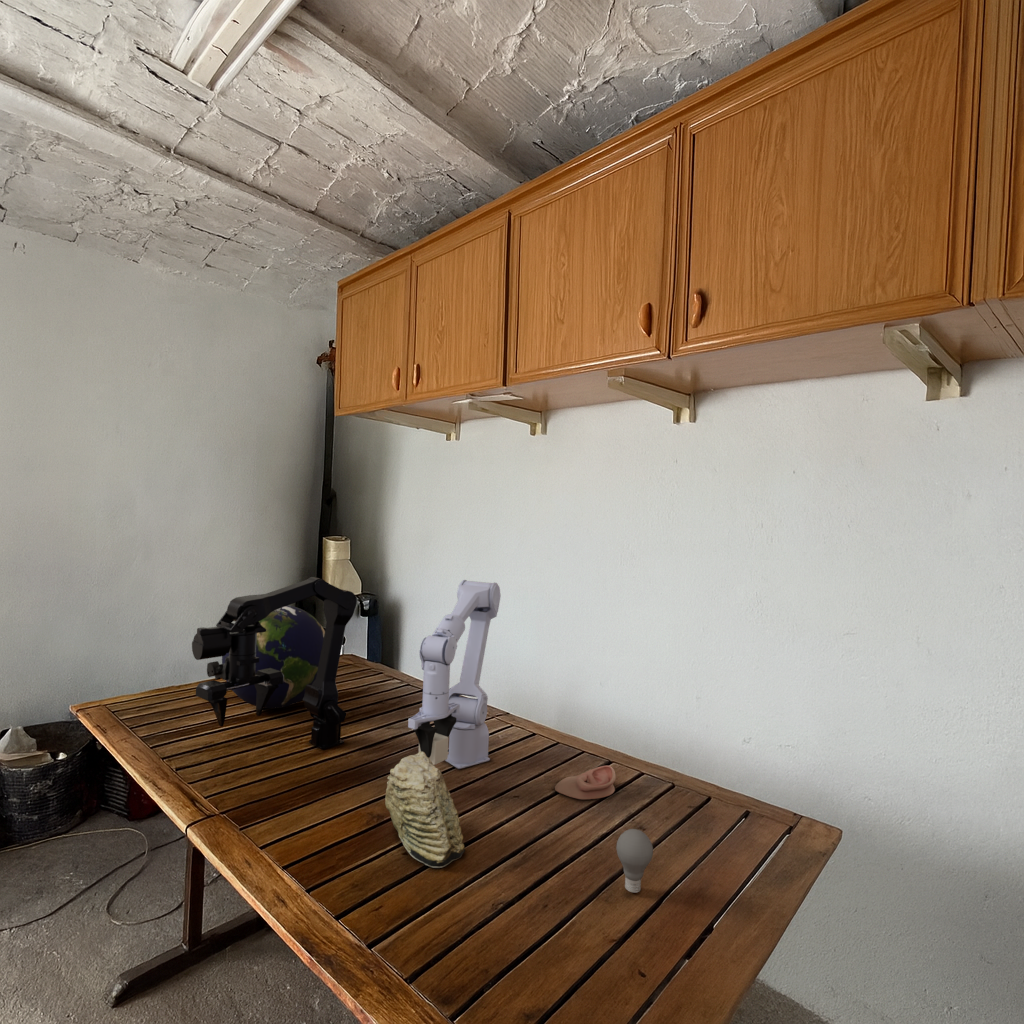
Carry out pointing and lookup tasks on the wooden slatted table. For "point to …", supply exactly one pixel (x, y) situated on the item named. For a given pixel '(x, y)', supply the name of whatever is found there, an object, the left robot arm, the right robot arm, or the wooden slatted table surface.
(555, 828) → the wooden slatted table surface
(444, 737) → the beige cube
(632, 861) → the light bulb
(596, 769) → the anatomical model
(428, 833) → the fossil
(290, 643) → the globe
